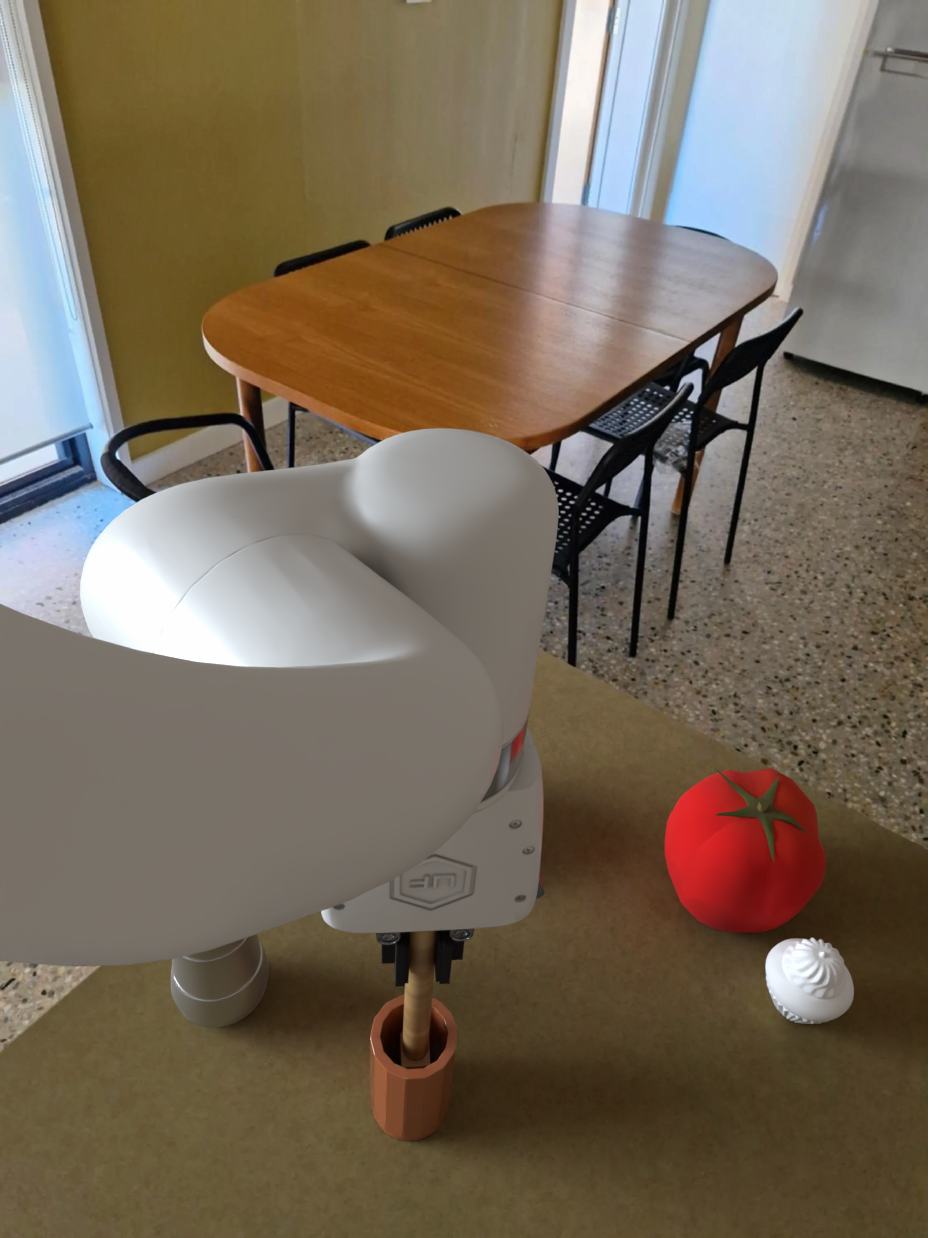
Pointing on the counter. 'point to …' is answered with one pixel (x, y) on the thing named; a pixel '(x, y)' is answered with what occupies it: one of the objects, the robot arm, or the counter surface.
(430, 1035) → the crock
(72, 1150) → the counter surface
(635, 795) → the counter surface
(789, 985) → the muffin
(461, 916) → the robot arm
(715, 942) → the counter surface
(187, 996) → the silver metal bottle
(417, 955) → the stirring stick
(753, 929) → the tomato
